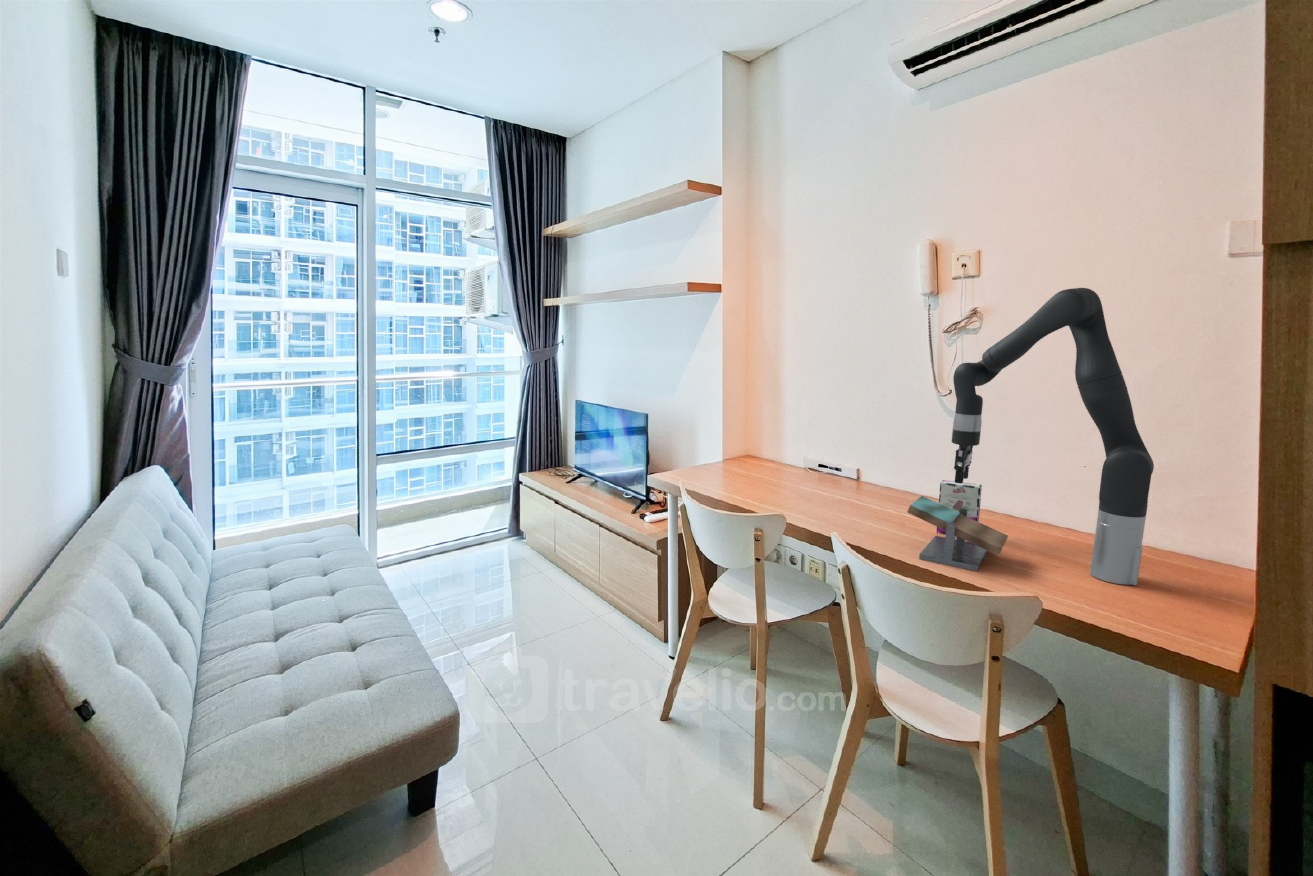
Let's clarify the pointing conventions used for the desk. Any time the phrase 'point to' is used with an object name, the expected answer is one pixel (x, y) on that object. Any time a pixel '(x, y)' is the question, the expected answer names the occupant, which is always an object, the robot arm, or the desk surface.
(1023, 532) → the desk surface
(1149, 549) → the desk surface
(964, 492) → the candy bar box
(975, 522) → the balance beam
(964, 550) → the beam stand
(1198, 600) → the desk surface
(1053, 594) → the desk surface
